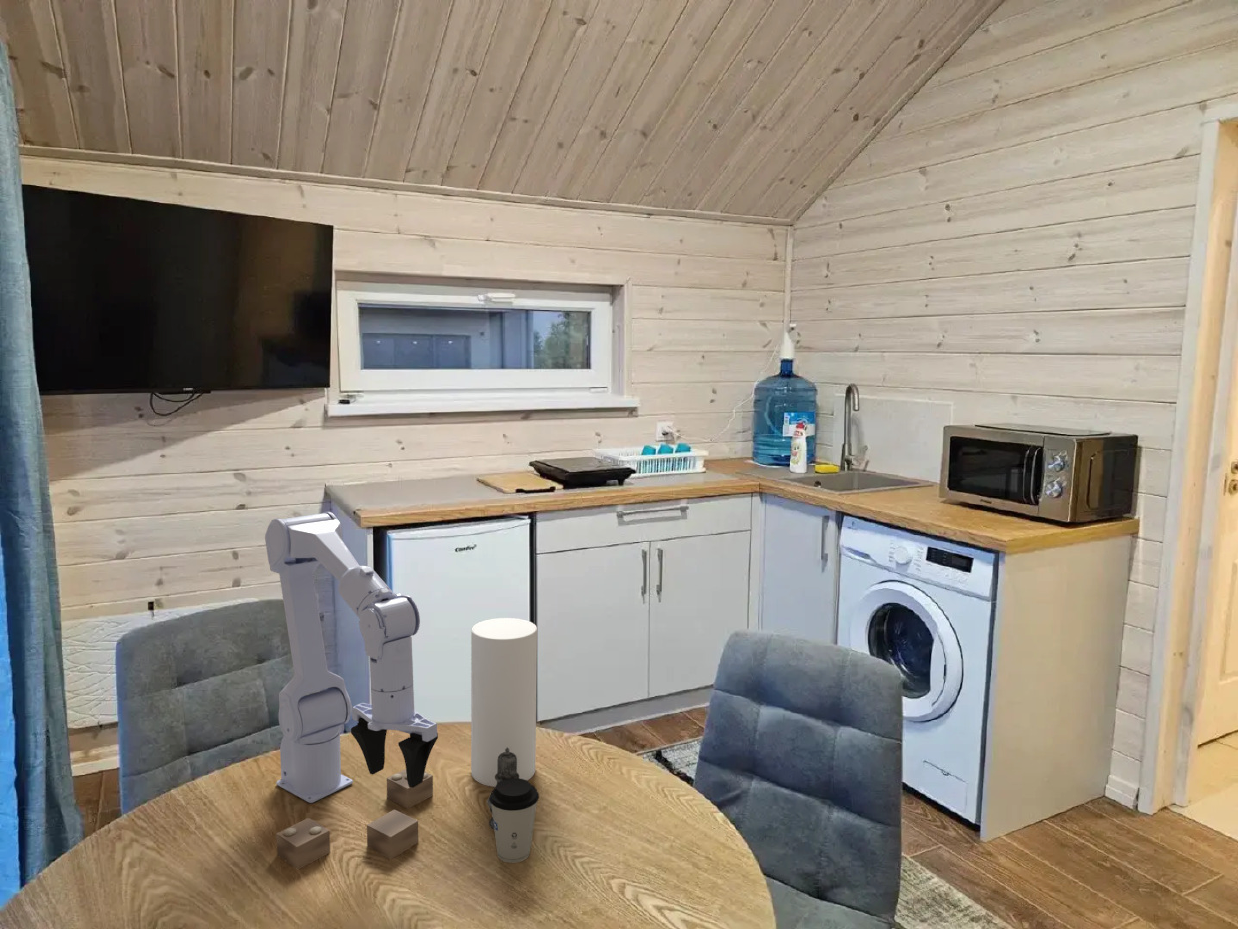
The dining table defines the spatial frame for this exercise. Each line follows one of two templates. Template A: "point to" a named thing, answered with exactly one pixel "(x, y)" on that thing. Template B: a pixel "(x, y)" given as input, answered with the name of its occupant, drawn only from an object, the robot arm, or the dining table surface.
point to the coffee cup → (513, 818)
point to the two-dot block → (303, 843)
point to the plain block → (392, 834)
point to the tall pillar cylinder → (503, 696)
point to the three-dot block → (408, 789)
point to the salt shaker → (504, 772)
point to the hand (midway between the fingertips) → (395, 777)
